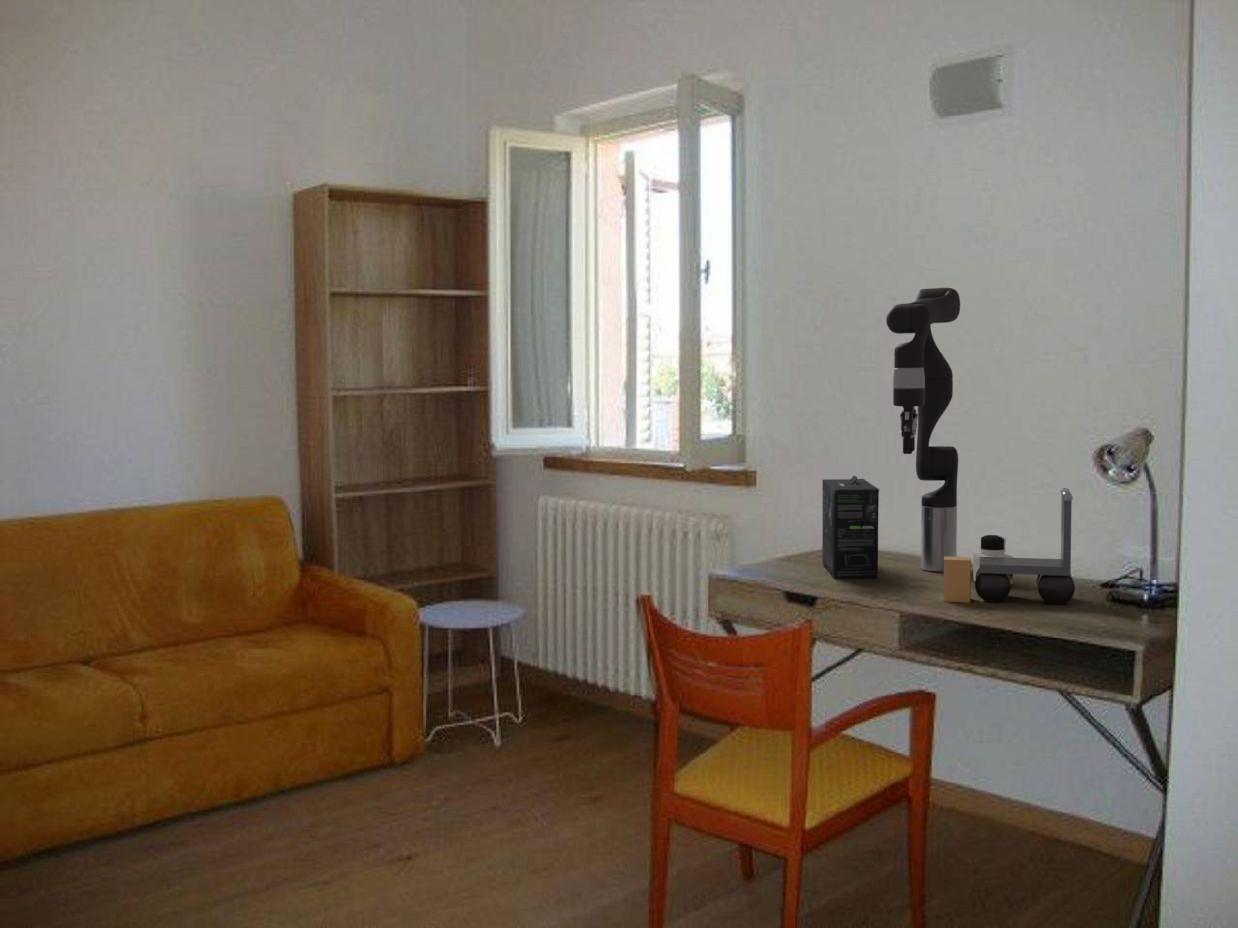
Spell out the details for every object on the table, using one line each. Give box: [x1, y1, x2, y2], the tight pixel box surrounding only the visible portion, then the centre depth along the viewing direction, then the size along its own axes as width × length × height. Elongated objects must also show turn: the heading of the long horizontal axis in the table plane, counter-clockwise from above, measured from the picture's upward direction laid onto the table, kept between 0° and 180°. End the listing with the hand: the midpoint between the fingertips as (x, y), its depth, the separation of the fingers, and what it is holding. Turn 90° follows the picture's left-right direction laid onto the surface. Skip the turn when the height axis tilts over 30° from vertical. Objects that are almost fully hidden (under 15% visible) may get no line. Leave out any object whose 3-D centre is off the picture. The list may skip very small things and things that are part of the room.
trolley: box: [974, 487, 1076, 606], centre depth 289 cm, size 12×22×26 cm, turn 73°
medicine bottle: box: [972, 534, 1014, 585], centre depth 311 cm, size 7×7×12 cm
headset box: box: [821, 475, 880, 580], centre depth 330 cm, size 22×12×26 cm, turn 179°
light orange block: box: [943, 556, 972, 603], centre depth 291 cm, size 4×6×10 cm
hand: (908, 452), depth 302 cm, fingers open, 8 cm apart
